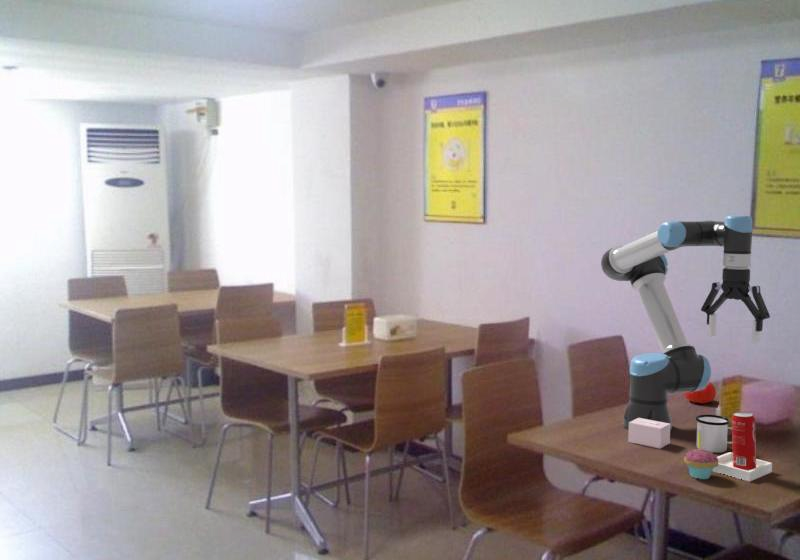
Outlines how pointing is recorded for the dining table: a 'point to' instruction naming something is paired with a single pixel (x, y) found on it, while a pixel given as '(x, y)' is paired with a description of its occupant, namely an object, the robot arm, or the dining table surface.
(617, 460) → the dining table surface
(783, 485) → the dining table surface
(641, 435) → the tissue box
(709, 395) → the tomato
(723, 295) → the robot arm
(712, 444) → the mug
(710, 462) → the cupcake
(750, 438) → the beverage can
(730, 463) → the tray
